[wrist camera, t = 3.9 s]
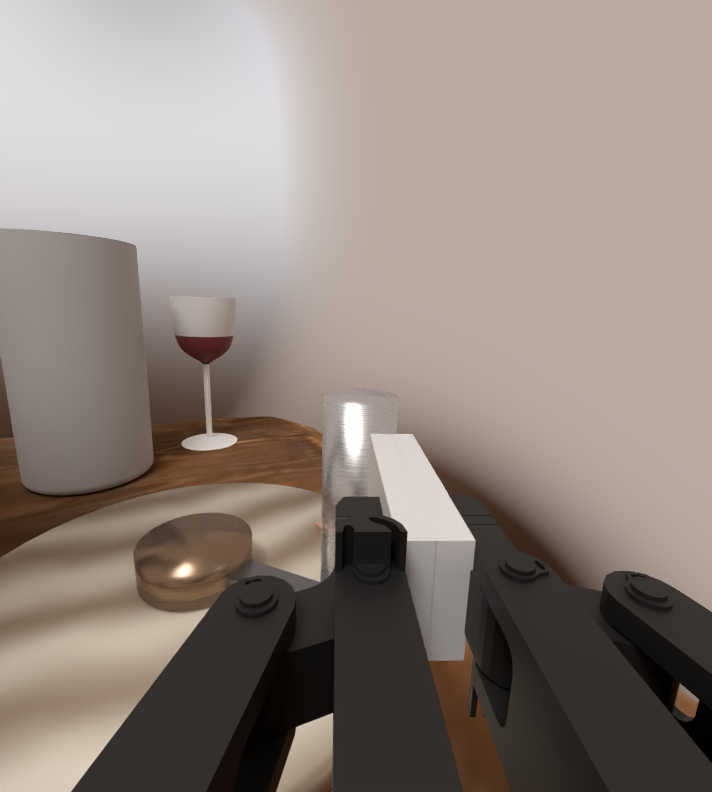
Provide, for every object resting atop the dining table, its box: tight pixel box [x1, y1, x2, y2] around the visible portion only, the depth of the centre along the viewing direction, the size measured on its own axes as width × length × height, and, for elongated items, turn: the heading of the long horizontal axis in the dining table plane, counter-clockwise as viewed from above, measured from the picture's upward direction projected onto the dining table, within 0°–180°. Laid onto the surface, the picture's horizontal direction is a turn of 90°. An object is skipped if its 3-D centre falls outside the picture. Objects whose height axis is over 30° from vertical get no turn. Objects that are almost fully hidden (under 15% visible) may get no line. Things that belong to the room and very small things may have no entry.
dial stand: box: [0, 483, 333, 792], centre depth 26 cm, size 28×28×2 cm
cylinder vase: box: [0, 229, 154, 495], centre depth 43 cm, size 12×12×25 cm
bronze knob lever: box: [133, 388, 398, 610], centre depth 23 cm, size 16×7×13 cm, turn 68°
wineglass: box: [169, 296, 237, 451], centre depth 55 cm, size 8×9×20 cm
